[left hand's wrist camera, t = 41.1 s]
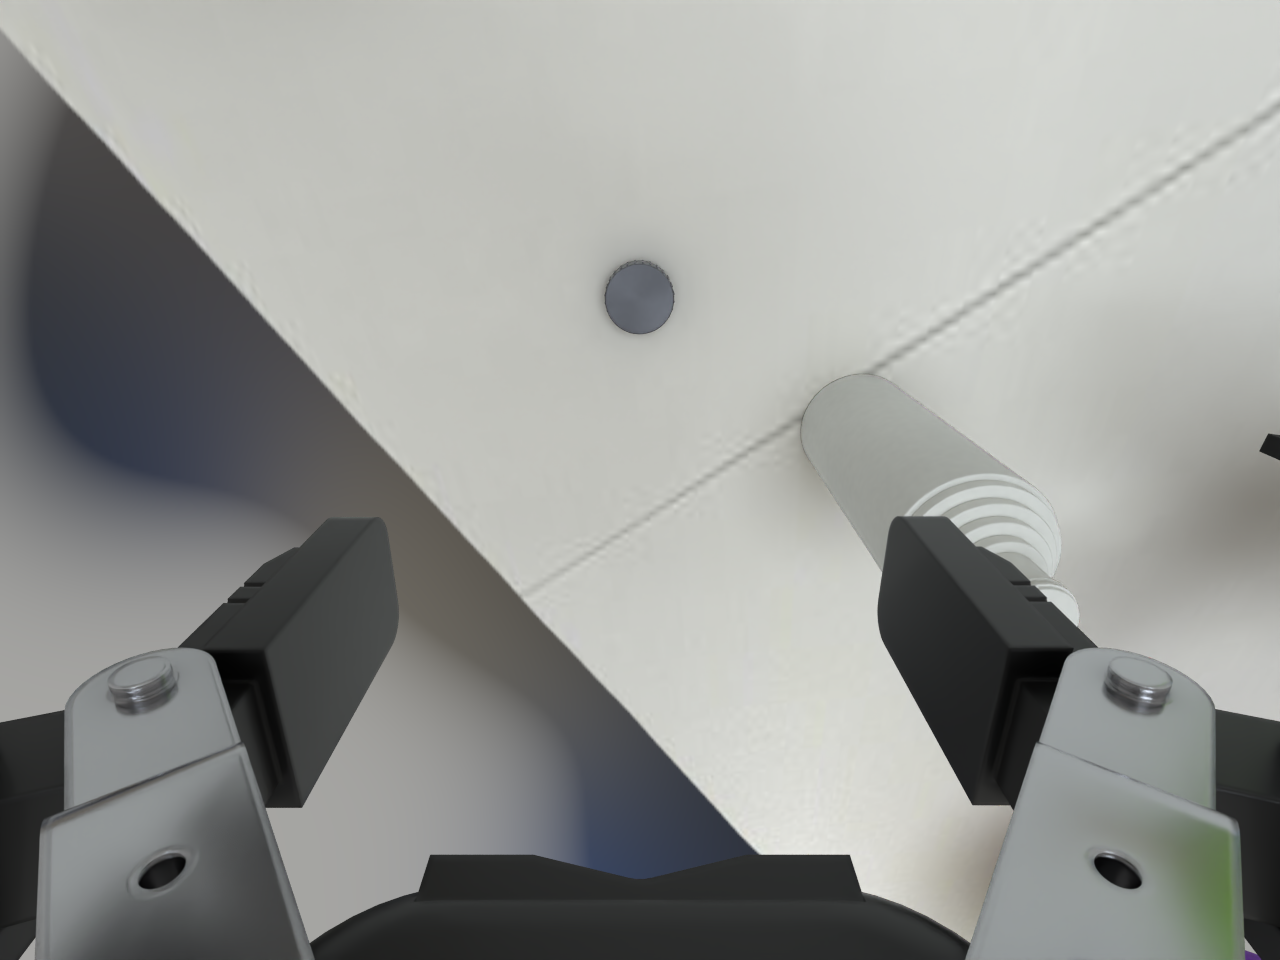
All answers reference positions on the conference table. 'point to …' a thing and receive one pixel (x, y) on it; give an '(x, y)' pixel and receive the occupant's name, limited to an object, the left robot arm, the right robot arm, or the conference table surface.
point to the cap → (639, 297)
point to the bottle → (926, 479)
